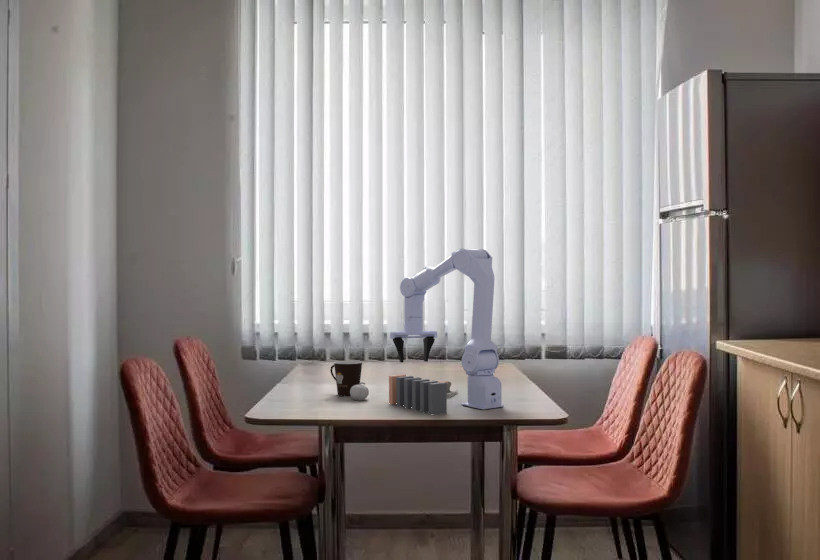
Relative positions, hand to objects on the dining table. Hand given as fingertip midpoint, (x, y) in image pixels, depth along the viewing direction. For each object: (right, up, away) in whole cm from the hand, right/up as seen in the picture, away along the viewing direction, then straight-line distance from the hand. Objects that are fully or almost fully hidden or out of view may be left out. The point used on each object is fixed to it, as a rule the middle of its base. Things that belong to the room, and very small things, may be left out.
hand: (413, 361), depth 225 cm
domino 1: (-5, -10, -15) cm, 19 cm away
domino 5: (+4, -10, -27) cm, 30 cm away
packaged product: (+4, -11, +2) cm, 12 cm away
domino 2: (-3, -10, -18) cm, 21 cm away
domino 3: (0, -10, -21) cm, 24 cm away
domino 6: (+6, -10, -31) cm, 33 cm away
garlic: (-16, -11, -8) cm, 21 cm away
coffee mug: (-21, -10, +2) cm, 23 cm away
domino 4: (+2, -10, -24) cm, 26 cm away
